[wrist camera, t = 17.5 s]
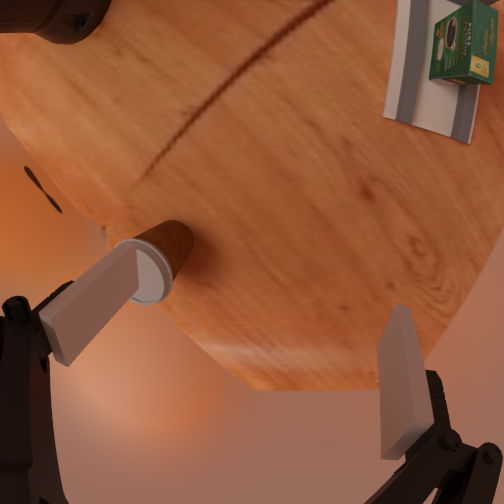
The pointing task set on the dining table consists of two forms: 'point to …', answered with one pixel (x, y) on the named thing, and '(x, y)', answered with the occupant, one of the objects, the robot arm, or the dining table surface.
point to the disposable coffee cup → (159, 259)
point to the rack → (426, 74)
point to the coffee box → (465, 46)
